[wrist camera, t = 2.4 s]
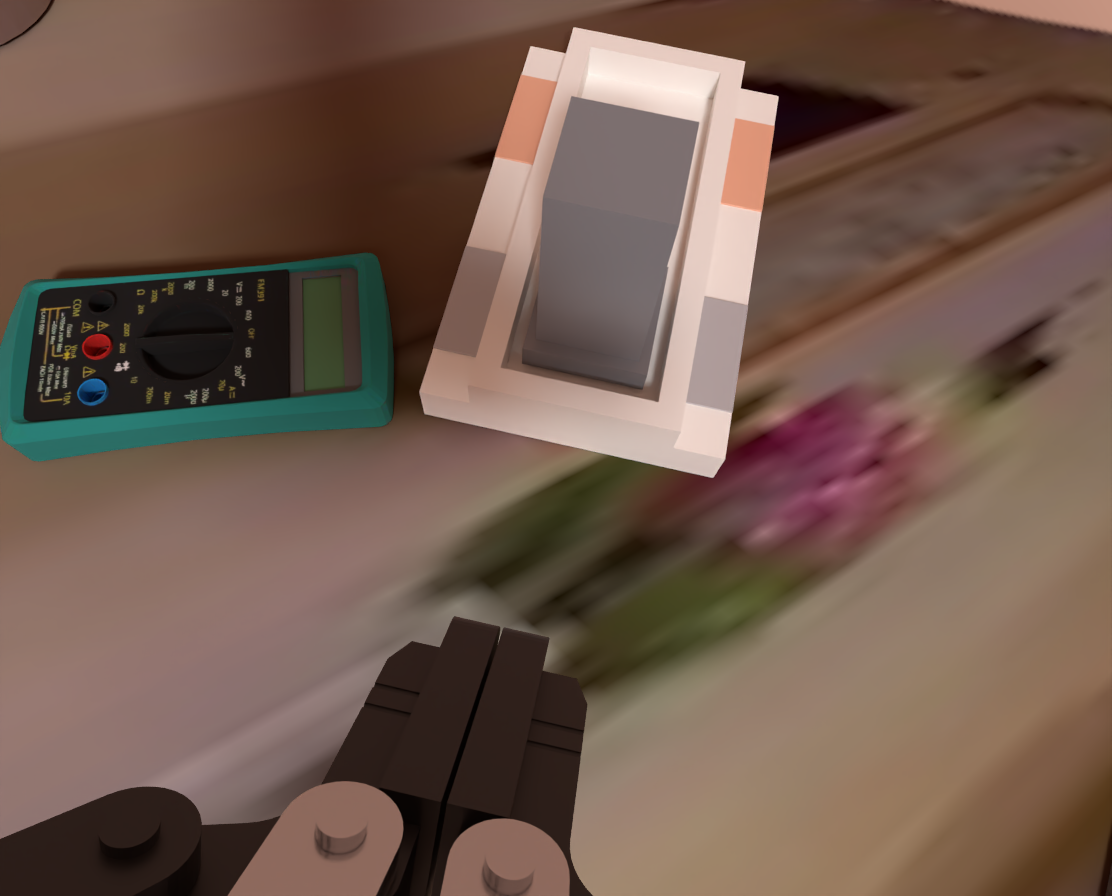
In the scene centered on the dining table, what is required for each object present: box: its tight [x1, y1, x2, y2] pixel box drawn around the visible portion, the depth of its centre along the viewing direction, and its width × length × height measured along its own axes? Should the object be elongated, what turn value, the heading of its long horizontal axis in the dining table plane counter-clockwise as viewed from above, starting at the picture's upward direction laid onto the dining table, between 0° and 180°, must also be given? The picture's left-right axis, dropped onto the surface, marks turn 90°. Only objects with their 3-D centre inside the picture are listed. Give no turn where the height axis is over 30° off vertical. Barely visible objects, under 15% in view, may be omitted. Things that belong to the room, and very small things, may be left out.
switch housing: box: [419, 27, 778, 478], centre depth 35 cm, size 12×19×4 cm, turn 168°
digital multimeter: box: [0, 253, 394, 461], centre depth 32 cm, size 7×15×3 cm, turn 98°
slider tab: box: [522, 96, 699, 390], centre depth 28 cm, size 5×5×9 cm
